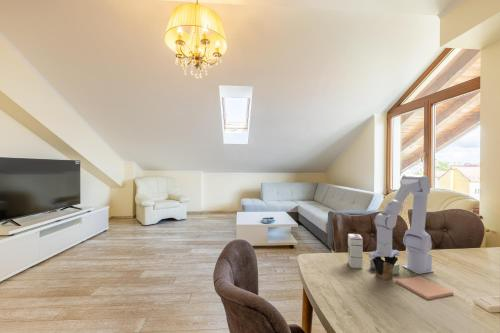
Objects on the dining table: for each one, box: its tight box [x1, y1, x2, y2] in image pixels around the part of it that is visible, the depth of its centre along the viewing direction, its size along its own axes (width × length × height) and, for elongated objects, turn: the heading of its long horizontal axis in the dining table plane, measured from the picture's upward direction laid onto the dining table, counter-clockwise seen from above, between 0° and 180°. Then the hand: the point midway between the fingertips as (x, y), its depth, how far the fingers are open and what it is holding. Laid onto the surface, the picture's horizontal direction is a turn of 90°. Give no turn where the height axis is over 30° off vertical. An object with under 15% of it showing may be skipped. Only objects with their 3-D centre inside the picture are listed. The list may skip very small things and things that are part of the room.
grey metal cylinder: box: [369, 258, 376, 272], centre depth 109 cm, size 4×4×4 cm
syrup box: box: [347, 233, 364, 269], centre depth 113 cm, size 6×6×14 cm
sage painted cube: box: [393, 262, 400, 275], centre depth 106 cm, size 4×4×4 cm
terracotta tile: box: [395, 275, 454, 301], centre depth 93 cm, size 13×13×1 cm
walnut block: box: [375, 260, 394, 281], centre depth 101 cm, size 4×4×6 cm
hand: (383, 273), depth 101 cm, fingers closed on walnut block, 4 cm apart
